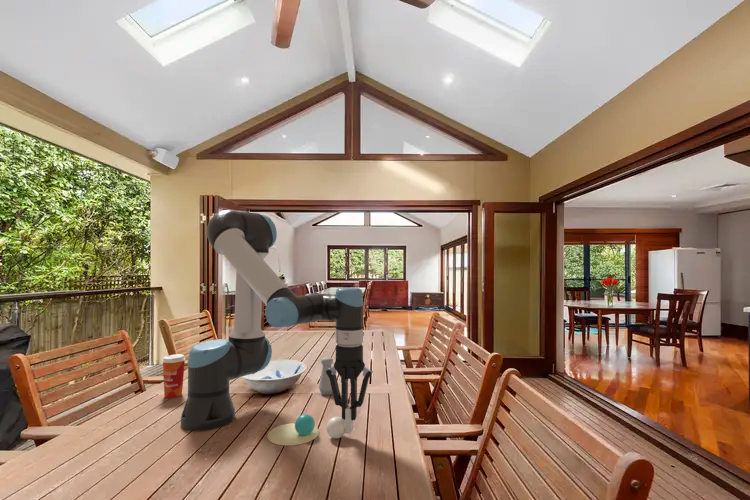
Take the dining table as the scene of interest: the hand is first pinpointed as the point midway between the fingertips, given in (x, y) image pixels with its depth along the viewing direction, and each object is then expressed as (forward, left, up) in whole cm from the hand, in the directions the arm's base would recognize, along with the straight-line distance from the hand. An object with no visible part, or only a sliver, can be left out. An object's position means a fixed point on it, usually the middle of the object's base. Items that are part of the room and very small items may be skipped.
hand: (349, 431), depth 105 cm
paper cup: (-71, +22, -2) cm, 74 cm away
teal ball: (-13, 0, +1) cm, 13 cm away
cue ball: (-3, 0, +1) cm, 4 cm away
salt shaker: (-17, +34, -2) cm, 38 cm away
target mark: (-16, 0, -2) cm, 16 cm away
